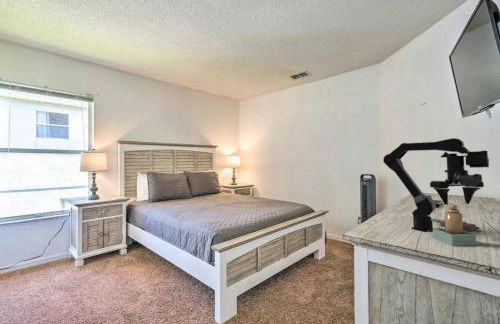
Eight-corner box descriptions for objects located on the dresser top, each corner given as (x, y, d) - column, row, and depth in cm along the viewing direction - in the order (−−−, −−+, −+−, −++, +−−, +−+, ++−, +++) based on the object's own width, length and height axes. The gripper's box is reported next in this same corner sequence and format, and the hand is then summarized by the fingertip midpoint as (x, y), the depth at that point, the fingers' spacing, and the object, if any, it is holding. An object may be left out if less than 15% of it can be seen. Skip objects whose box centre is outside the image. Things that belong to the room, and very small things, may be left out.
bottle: (445, 238, 95) (445, 205, 95) (444, 235, 99) (444, 203, 99) (463, 241, 92) (462, 206, 92) (461, 237, 96) (461, 204, 96)
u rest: (431, 237, 101) (431, 228, 101) (455, 237, 101) (455, 228, 101) (452, 245, 91) (451, 235, 91) (478, 245, 91) (478, 235, 91)
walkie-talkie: (482, 230, 110) (433, 221, 128) (481, 220, 110) (432, 213, 128) (472, 233, 106) (423, 223, 124) (472, 223, 106) (422, 215, 124)
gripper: (449, 168, 96) (450, 208, 96) (496, 167, 96) (497, 206, 96) (428, 168, 107) (429, 203, 107) (470, 167, 107) (472, 202, 107)
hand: (456, 204), depth 104 cm, fingers open, 9 cm apart
